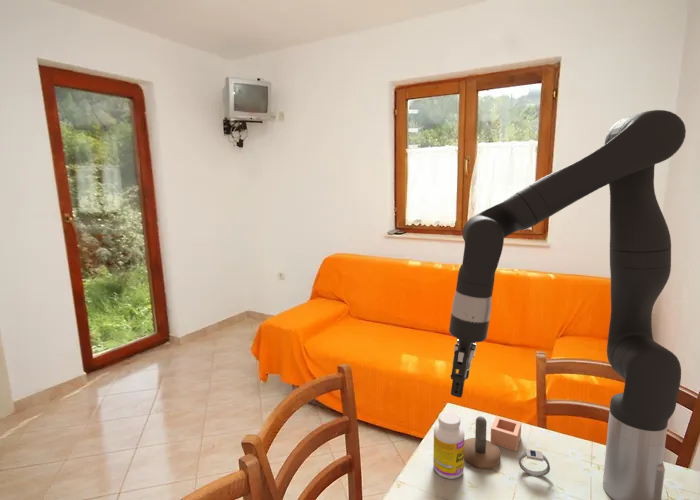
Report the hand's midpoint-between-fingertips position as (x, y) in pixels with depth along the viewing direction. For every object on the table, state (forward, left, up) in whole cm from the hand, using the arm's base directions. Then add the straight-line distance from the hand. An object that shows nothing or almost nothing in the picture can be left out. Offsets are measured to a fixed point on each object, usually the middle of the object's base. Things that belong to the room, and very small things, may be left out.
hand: (459, 386), depth 82 cm
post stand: (-3, -9, -21) cm, 23 cm away
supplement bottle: (+2, -1, -22) cm, 22 cm away
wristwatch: (-14, -9, -22) cm, 27 cm away
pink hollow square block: (-7, -18, -21) cm, 29 cm away
